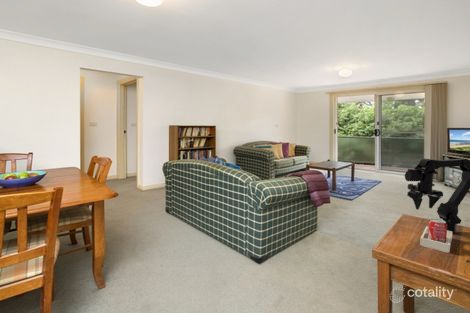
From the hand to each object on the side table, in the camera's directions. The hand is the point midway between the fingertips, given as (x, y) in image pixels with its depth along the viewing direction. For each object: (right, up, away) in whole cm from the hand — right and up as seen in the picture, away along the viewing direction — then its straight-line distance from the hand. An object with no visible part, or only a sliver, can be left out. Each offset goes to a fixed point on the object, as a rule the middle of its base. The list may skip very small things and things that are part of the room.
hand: (423, 208), depth 142 cm
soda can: (-6, -14, -16) cm, 23 cm away
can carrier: (-3, -14, -13) cm, 19 cm away
